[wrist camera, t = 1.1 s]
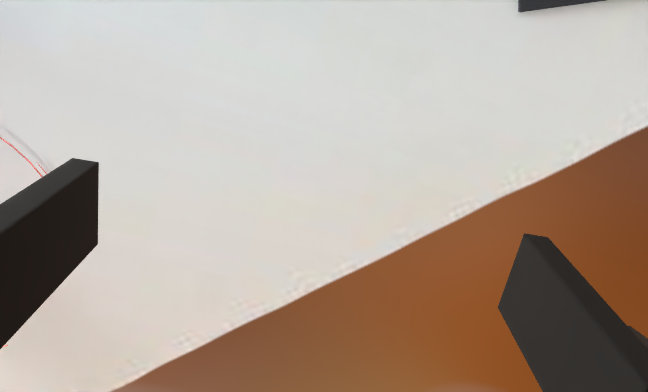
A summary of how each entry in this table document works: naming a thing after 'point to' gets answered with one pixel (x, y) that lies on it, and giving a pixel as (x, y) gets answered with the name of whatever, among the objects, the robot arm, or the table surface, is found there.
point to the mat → (548, 4)
